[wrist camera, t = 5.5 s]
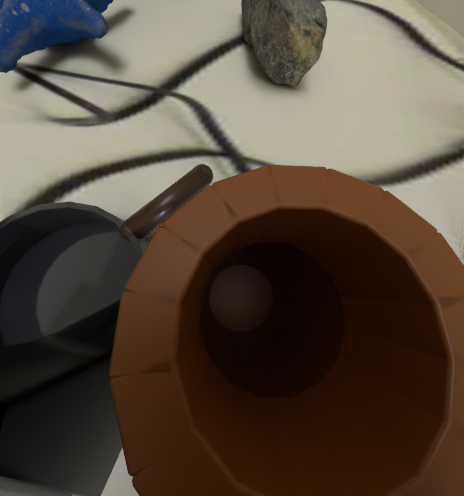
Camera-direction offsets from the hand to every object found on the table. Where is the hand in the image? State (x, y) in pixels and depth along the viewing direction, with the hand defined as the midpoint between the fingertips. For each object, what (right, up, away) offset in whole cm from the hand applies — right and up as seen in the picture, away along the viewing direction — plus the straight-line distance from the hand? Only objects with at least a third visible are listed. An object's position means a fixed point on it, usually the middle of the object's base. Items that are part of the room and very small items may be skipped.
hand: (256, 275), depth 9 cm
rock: (+4, +29, +15) cm, 33 cm away
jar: (-1, -3, +6) cm, 7 cm away
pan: (-14, -2, +6) cm, 16 cm away
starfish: (-23, +30, +14) cm, 40 cm away
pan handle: (-7, +5, +6) cm, 11 cm away
